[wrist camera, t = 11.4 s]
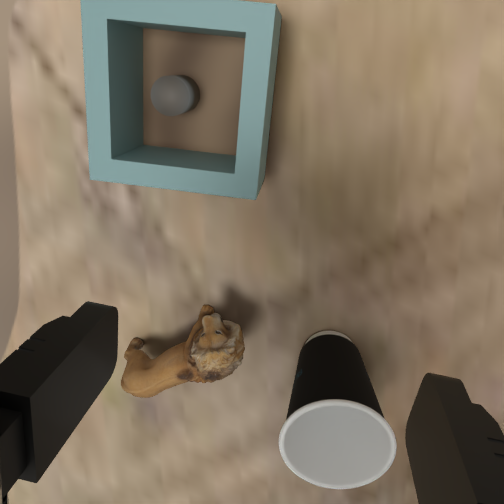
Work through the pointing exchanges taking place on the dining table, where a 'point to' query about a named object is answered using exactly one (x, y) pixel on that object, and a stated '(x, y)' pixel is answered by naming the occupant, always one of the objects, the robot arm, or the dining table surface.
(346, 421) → the dixie cup
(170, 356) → the lion figurine
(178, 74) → the shaft block
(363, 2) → the dining table surface
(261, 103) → the collar
